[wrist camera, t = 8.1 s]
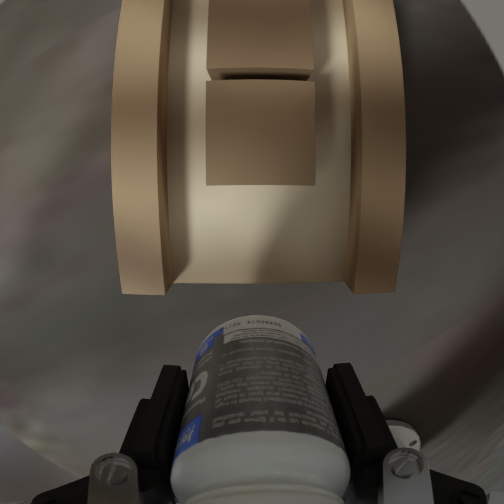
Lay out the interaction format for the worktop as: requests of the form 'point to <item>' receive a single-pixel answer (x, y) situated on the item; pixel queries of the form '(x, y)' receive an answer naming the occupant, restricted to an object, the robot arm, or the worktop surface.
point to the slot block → (257, 196)
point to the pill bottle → (258, 421)
